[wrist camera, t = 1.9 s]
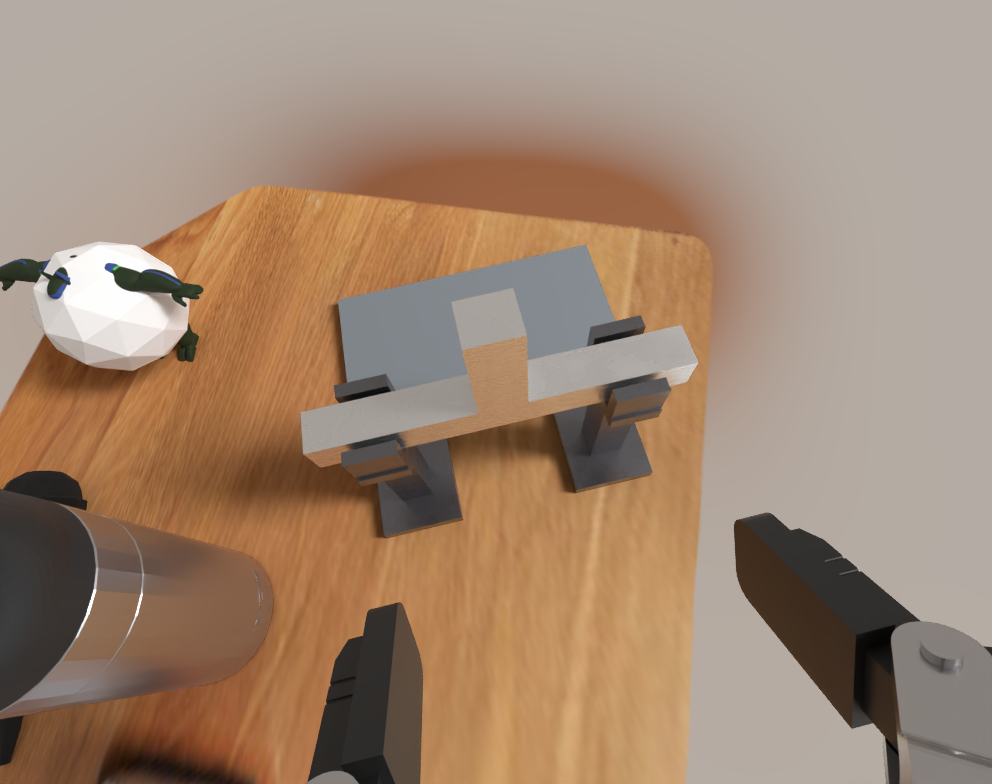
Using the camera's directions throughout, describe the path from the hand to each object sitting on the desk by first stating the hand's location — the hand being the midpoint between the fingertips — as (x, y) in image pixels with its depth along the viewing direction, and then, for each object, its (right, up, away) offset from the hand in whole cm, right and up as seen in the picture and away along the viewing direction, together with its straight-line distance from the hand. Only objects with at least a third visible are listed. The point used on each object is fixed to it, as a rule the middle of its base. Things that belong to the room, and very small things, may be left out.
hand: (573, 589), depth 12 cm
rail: (-1, +4, +19) cm, 19 cm away
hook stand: (-1, -1, +30) cm, 30 cm away
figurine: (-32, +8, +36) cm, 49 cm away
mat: (-4, +10, +35) cm, 37 cm away
